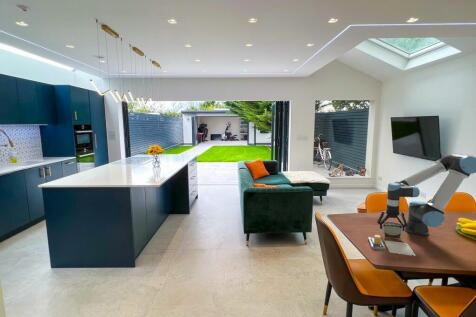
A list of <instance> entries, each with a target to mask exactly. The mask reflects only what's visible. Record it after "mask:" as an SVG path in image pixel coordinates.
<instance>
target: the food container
mask: <svg viewBox="0 0 476 317" xmlns="http://www.w3.org/2000/svg"><path fill="white" fill-rule="evenodd" d="M402 228H403V226H402V225H401V224H400V223H398V222H393V221H385V222H384V223H383V234H384V238H385V239H393V240H394V239H395V240H400V239H401V237H402V236H401V230H402Z"/></svg>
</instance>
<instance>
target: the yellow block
mask: <svg viewBox="0 0 476 317" xmlns="http://www.w3.org/2000/svg"><path fill="white" fill-rule="evenodd" d="M373 236H374V237H373V238H374V243H375V244H377V245H381V240H382V237H381V235H379V234H374V235H373Z"/></svg>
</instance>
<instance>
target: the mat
mask: <svg viewBox="0 0 476 317" xmlns="http://www.w3.org/2000/svg"><path fill="white" fill-rule="evenodd" d="M383 243H384V245H385V247H387V248H386V249H388V252H389V254H396V253H397V254H399V255H404V256H412V255H413V257H416V256H417V255H416V254H415V253H414V251H413V250H412V248H411V247H410V245H409V244H408V243H407V242H399V241H393V240H383Z"/></svg>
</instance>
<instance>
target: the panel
mask: <svg viewBox="0 0 476 317" xmlns="http://www.w3.org/2000/svg"><path fill="white" fill-rule="evenodd" d="M367 240H368V243H369V245H370V248H371V249H372V250H373V249H374V250H381V251H386V250H387V248H386V245H385V243H384V241H383V240H382V239H381V245H377V244H375V243H374V237H369V236H368V237H367Z"/></svg>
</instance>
